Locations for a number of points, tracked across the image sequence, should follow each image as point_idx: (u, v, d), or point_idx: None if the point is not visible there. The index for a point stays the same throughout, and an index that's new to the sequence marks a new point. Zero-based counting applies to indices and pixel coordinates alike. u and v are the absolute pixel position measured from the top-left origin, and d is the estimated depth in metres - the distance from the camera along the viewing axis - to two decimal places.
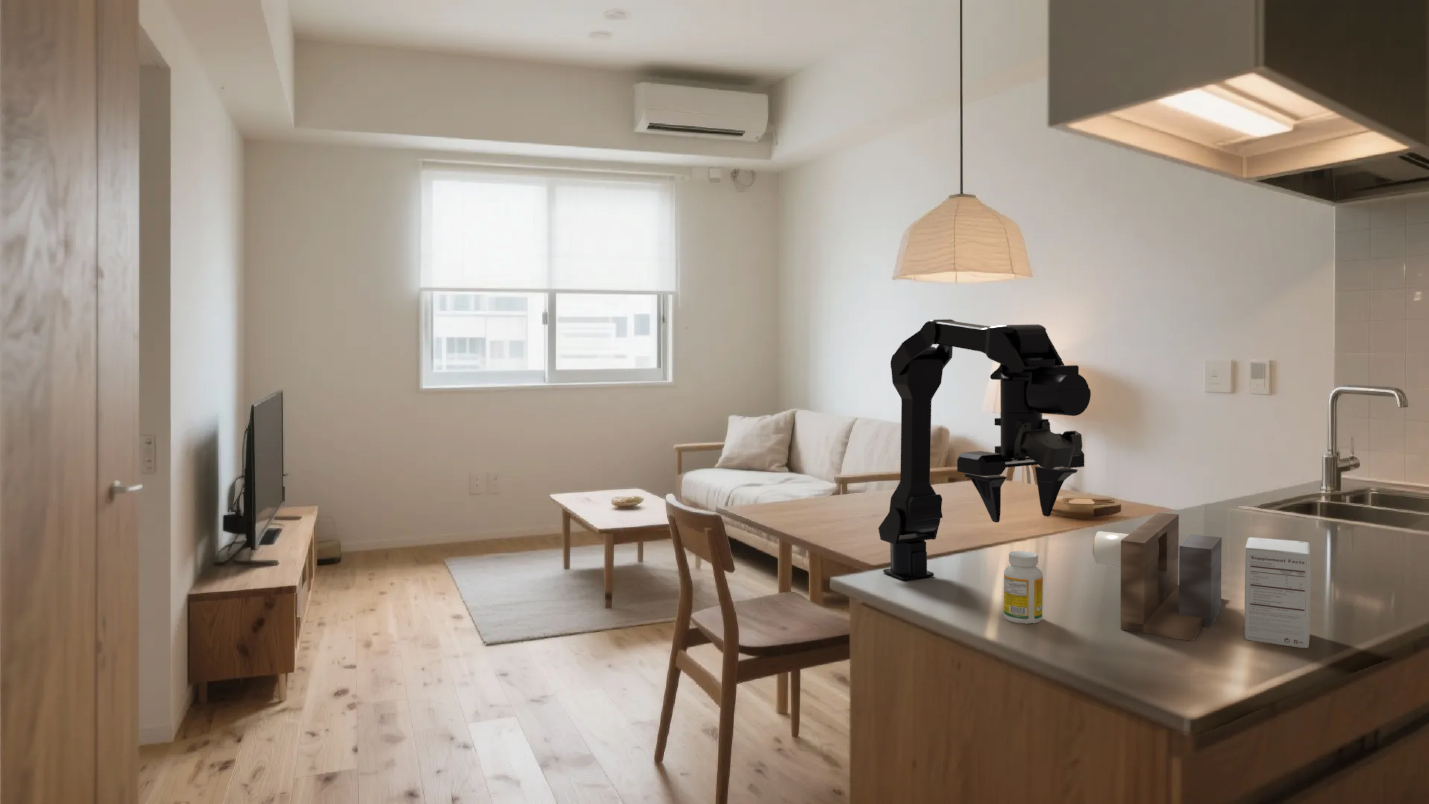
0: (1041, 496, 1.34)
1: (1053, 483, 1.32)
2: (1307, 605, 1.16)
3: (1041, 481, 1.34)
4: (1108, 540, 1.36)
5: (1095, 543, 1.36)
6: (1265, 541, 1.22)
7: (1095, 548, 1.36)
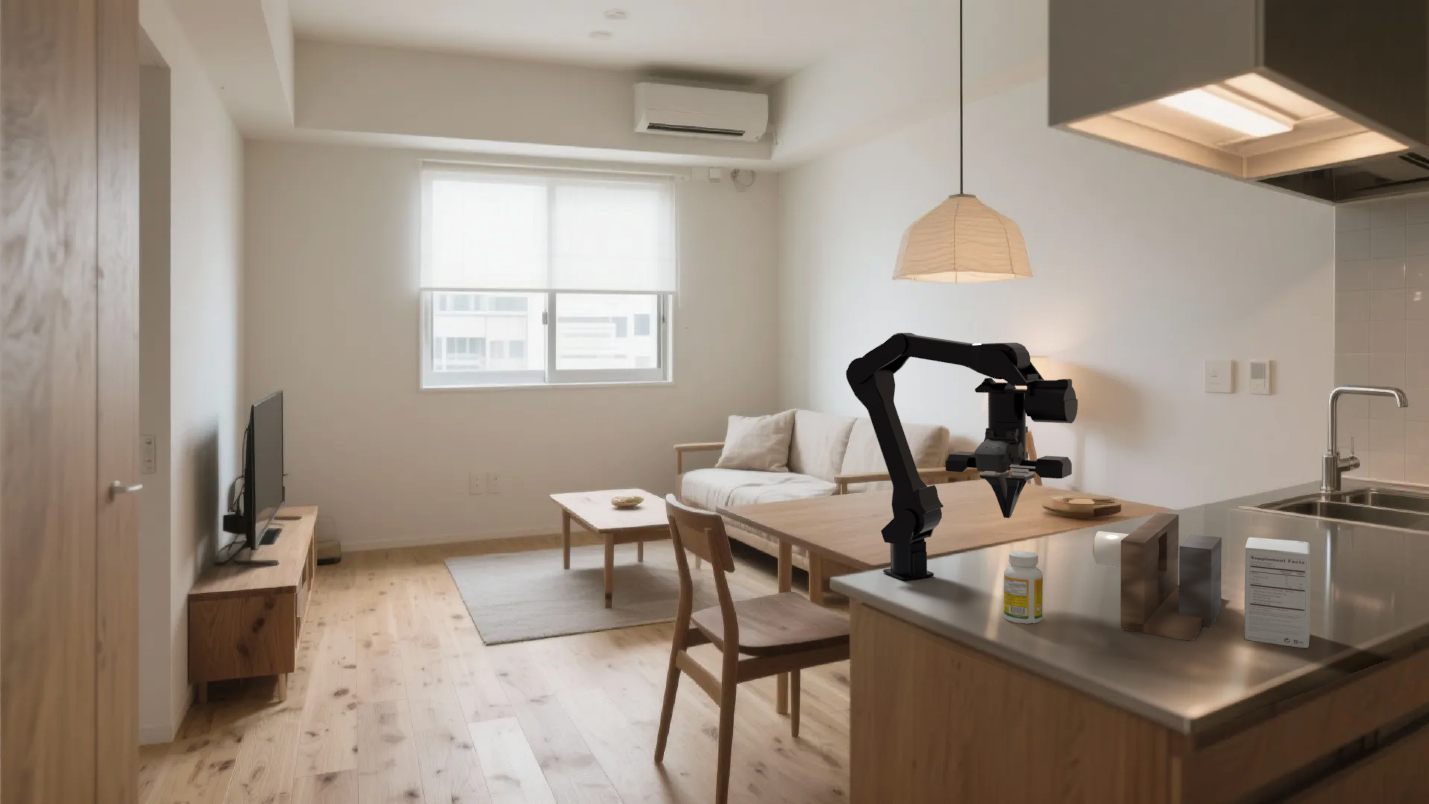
0: None
1: None
2: (1307, 605, 1.16)
3: None
4: (1108, 540, 1.36)
5: (1095, 543, 1.36)
6: (1265, 541, 1.22)
7: (1095, 548, 1.36)
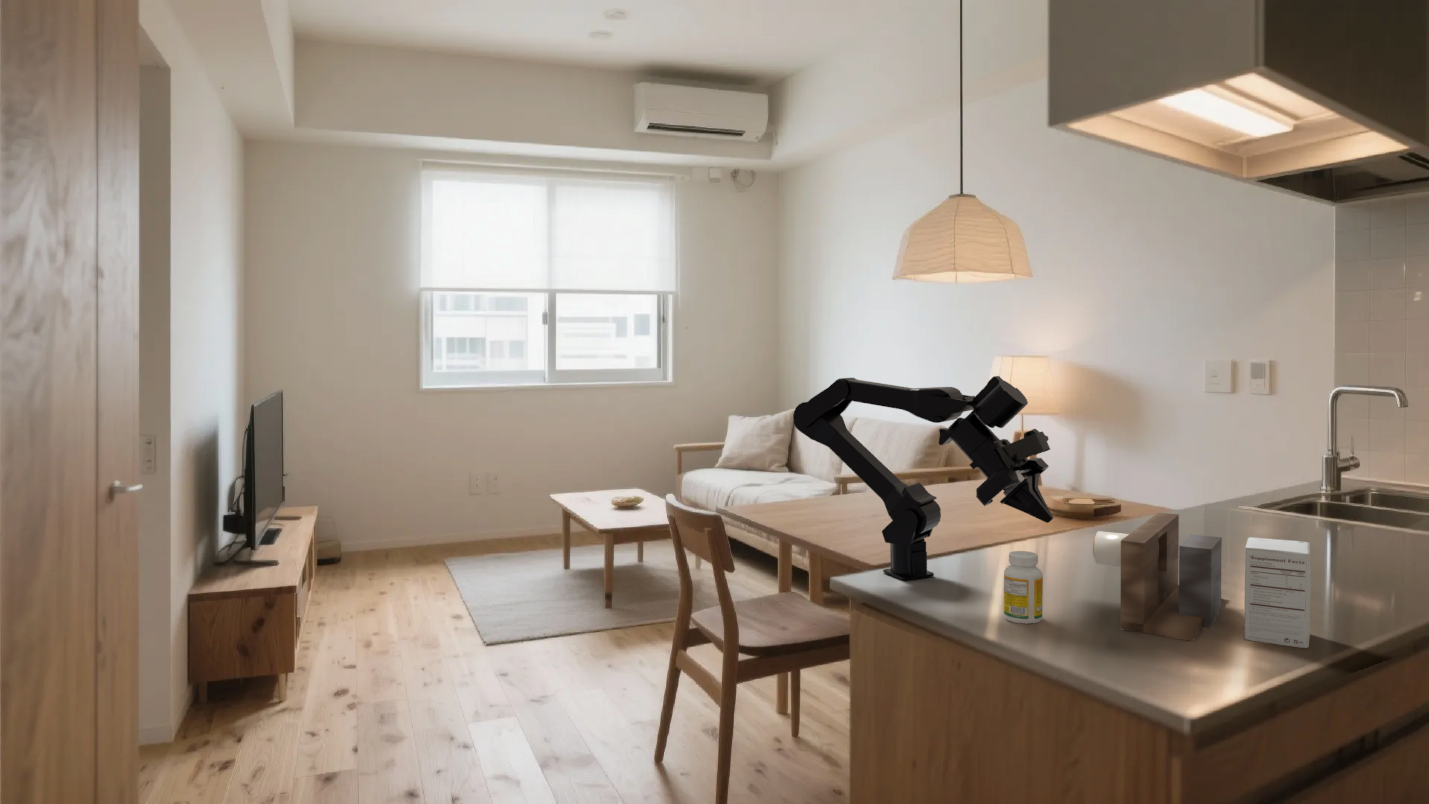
0: None
1: (1034, 491, 1.44)
2: (1307, 605, 1.16)
3: None
4: (1108, 540, 1.36)
5: (1095, 543, 1.36)
6: (1265, 541, 1.22)
7: (1095, 548, 1.36)
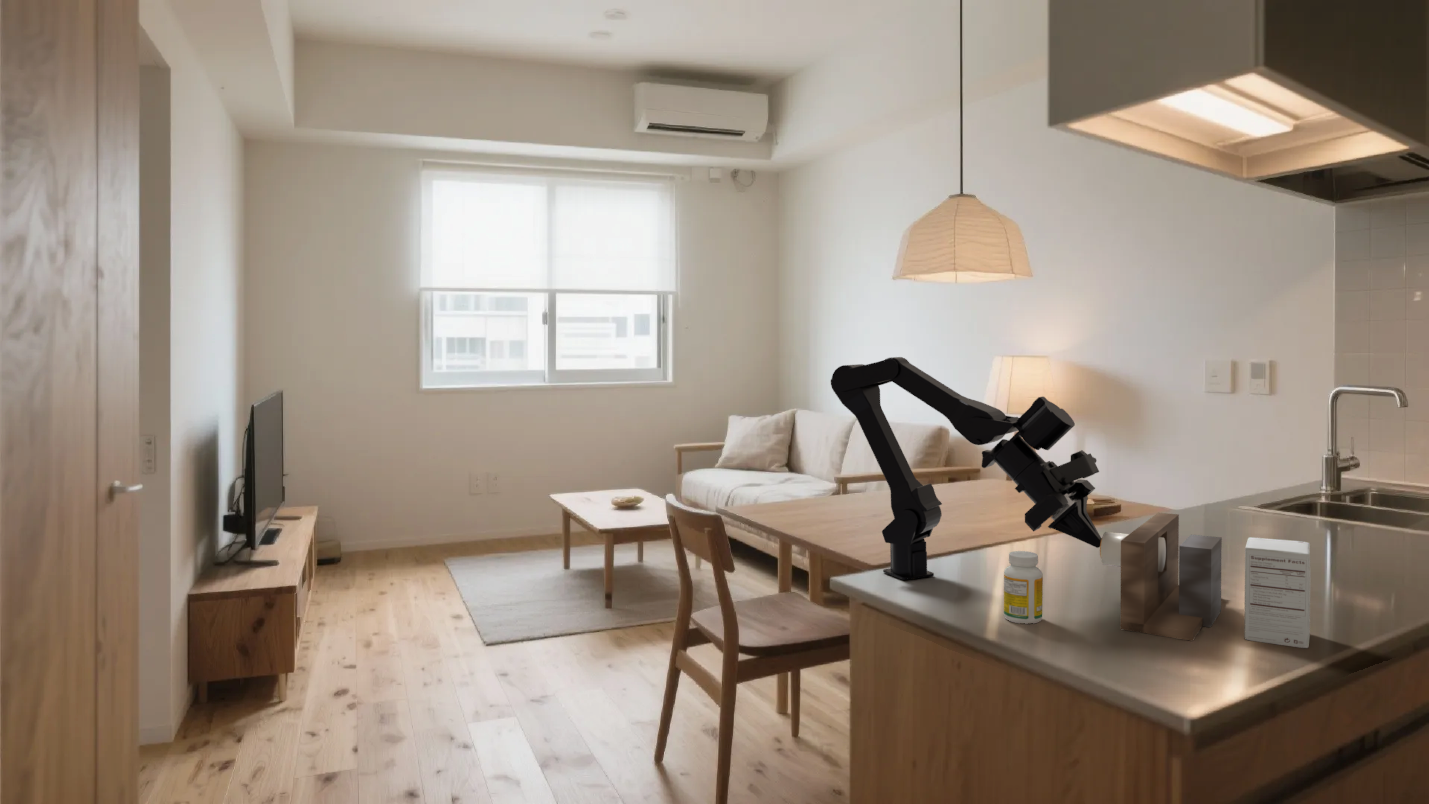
0: None
1: (1083, 515, 1.40)
2: (1307, 605, 1.16)
3: None
4: (1115, 541, 1.35)
5: (1102, 544, 1.36)
6: (1265, 541, 1.22)
7: (1102, 549, 1.36)
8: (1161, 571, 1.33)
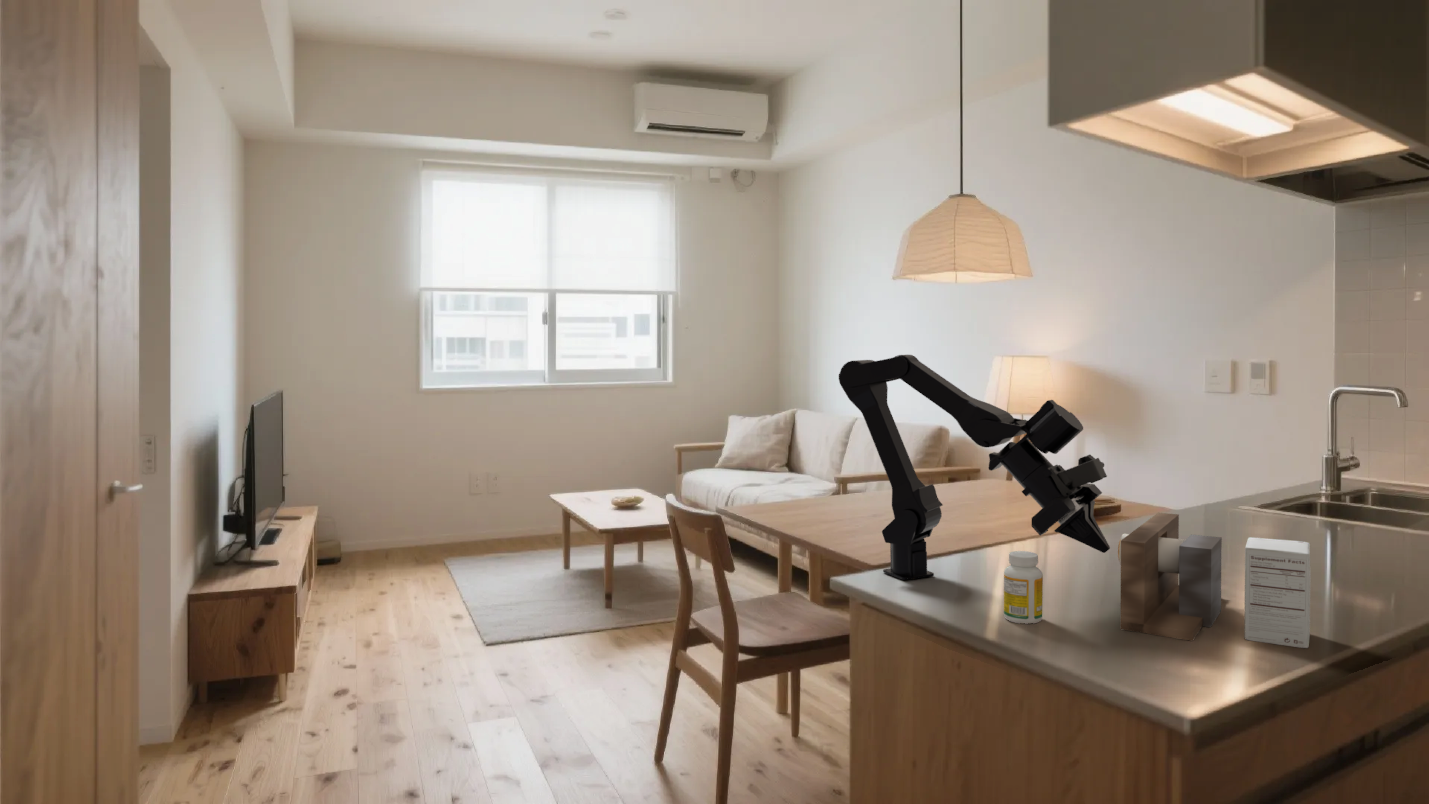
0: None
1: (1090, 520, 1.39)
2: (1307, 605, 1.16)
3: None
4: None
5: (1120, 546, 1.34)
6: (1265, 541, 1.22)
7: (1120, 551, 1.34)
8: None
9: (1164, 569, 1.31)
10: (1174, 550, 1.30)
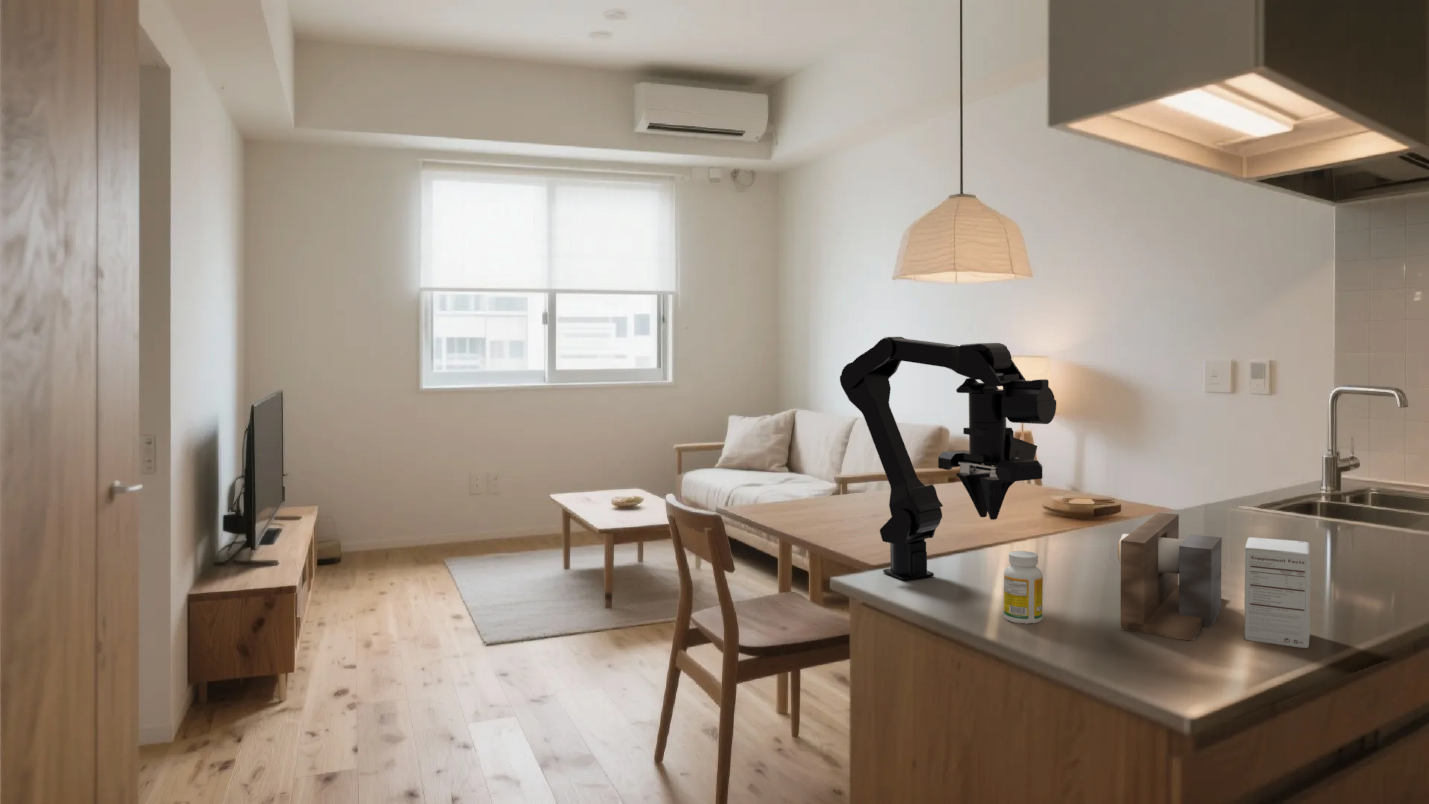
0: (978, 500, 1.46)
1: None
2: (1307, 605, 1.16)
3: (975, 487, 1.46)
4: None
5: (1120, 546, 1.34)
6: (1265, 541, 1.22)
7: (1120, 551, 1.34)
8: None
9: (1164, 569, 1.31)
10: (1174, 550, 1.30)
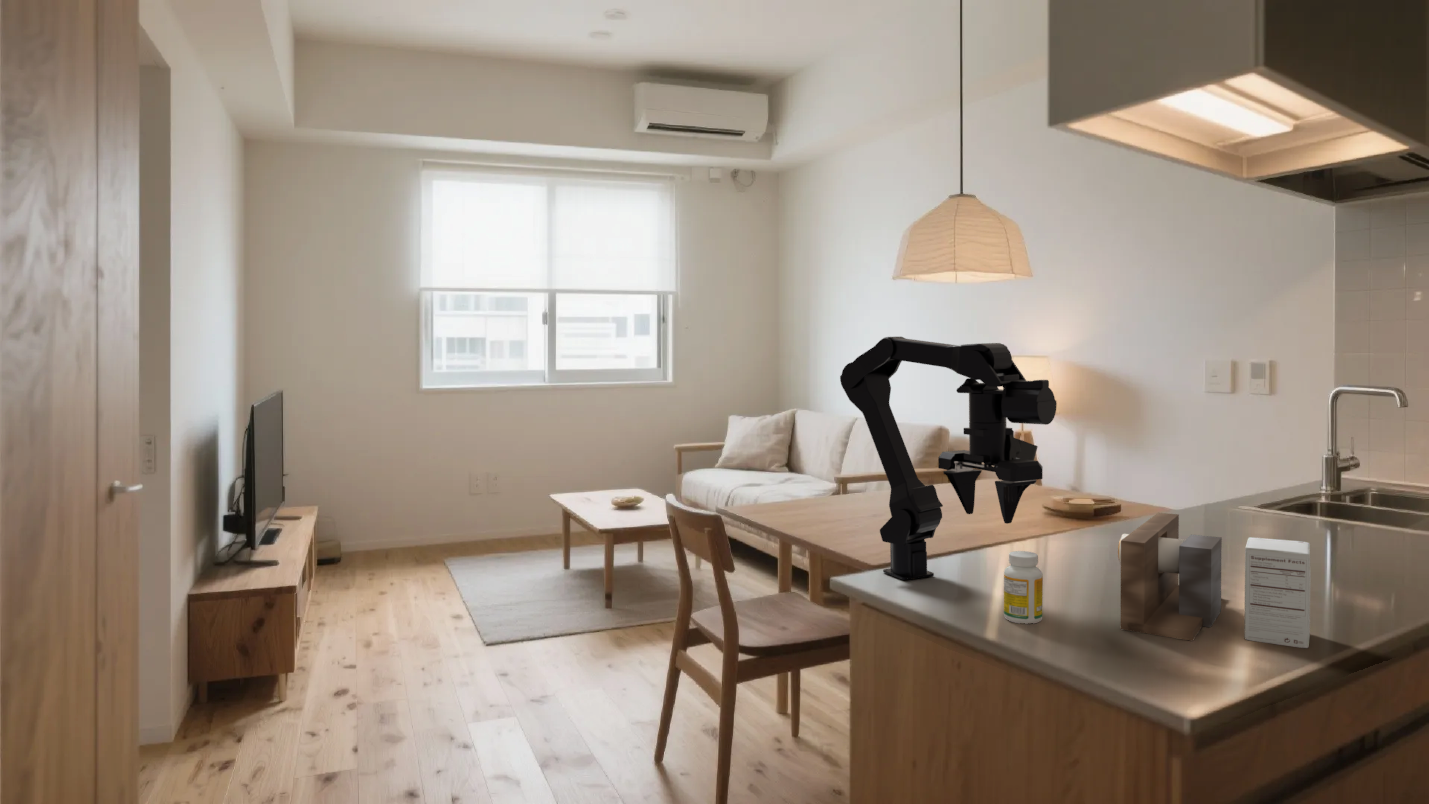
0: (964, 497, 1.49)
1: (973, 483, 1.50)
2: (1307, 605, 1.16)
3: (962, 484, 1.49)
4: None
5: (1120, 546, 1.34)
6: (1265, 541, 1.22)
7: (1120, 551, 1.34)
8: None
9: (1164, 569, 1.31)
10: (1174, 550, 1.30)
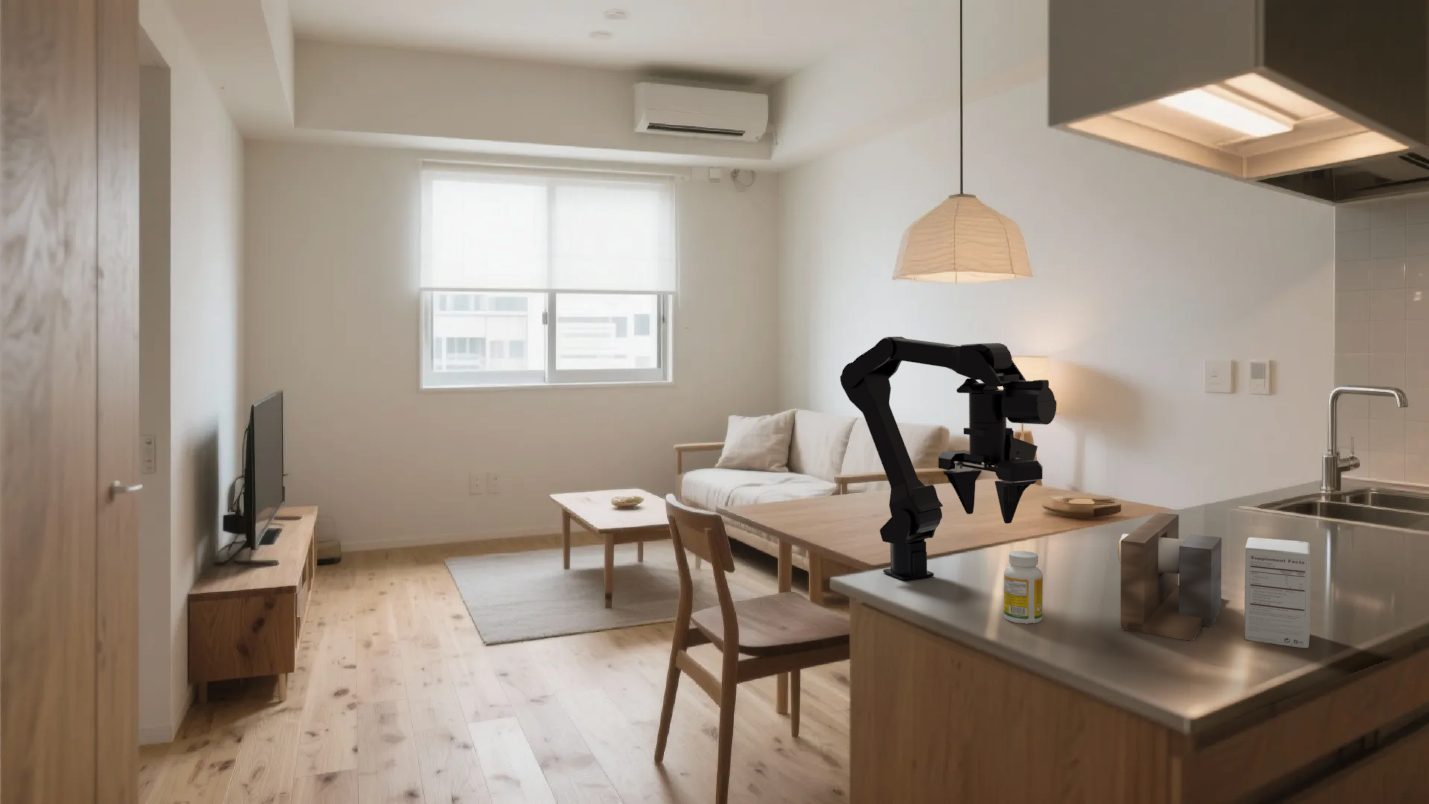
0: (964, 497, 1.49)
1: (973, 483, 1.50)
2: (1307, 605, 1.16)
3: (962, 484, 1.49)
4: None
5: (1120, 546, 1.34)
6: (1265, 541, 1.22)
7: (1120, 551, 1.34)
8: None
9: (1164, 569, 1.31)
10: (1174, 550, 1.30)
